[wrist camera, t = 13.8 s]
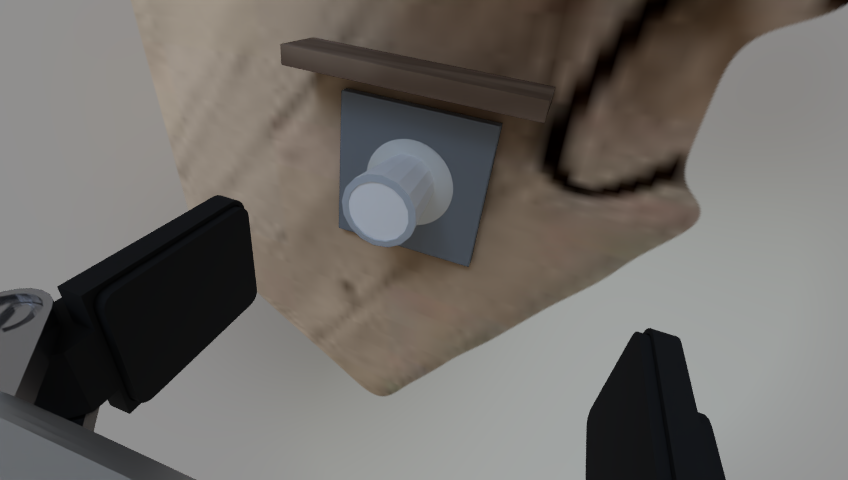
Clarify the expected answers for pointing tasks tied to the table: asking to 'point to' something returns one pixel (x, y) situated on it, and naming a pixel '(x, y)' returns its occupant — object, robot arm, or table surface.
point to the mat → (438, 149)
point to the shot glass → (388, 200)
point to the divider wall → (421, 77)
